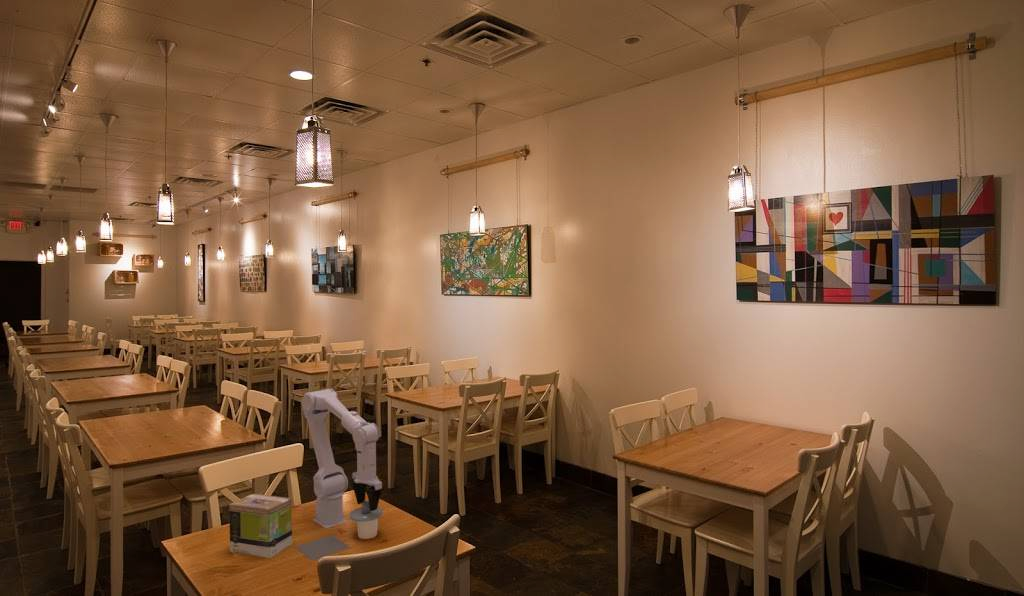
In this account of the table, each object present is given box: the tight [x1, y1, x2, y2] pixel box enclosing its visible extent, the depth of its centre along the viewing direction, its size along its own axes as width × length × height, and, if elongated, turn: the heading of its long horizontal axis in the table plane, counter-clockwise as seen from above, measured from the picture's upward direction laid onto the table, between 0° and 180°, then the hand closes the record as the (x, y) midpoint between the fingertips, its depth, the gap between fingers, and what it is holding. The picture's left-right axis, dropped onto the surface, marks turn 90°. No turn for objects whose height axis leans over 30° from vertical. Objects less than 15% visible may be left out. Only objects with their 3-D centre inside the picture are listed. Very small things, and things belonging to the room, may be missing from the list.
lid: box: [349, 500, 384, 522], centre depth 180 cm, size 10×10×4 cm
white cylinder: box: [356, 518, 379, 540], centre depth 180 cm, size 7×7×7 cm
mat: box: [294, 534, 351, 561], centre depth 172 cm, size 12×12×1 cm
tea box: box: [228, 493, 293, 559], centre depth 172 cm, size 15×10×15 cm, turn 71°
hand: (367, 506), depth 180 cm, fingers open, 7 cm apart
